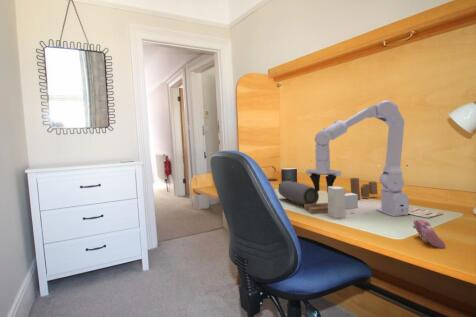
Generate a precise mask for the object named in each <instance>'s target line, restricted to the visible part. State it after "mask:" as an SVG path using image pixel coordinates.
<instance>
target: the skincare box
mask: <svg viewBox="0 0 476 317" xmlns="http://www.w3.org/2000/svg"><path fill="white" fill-rule="evenodd" d="M345 194H346V188H345V187H341V186H339V185H333V186H328V193H327V203H328V213H327V215H328V216H329V217H330V218H333V219H335V220H340V219H346V214H345V213H346V209H345Z"/></svg>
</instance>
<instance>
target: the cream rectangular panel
mask: <svg viewBox="0 0 476 317" xmlns="http://www.w3.org/2000/svg"><path fill="white" fill-rule="evenodd" d="M355 214H356V213H354V212H352V211H350V212H349V211H348V212H345V215H355Z"/></svg>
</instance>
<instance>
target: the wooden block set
mask: <svg viewBox="0 0 476 317" xmlns="http://www.w3.org/2000/svg"><path fill="white" fill-rule="evenodd" d="M349 179H350V180H349V181H350V182H349V183H350V193H354V194H357V195H358V200H360V199H361V197H362V198H369V197H370V195H378V182H377V181H368V183H364V184H362V185H360V178H359V177H351V178H349Z"/></svg>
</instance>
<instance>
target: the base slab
mask: <svg viewBox="0 0 476 317" xmlns="http://www.w3.org/2000/svg"><path fill="white" fill-rule="evenodd" d="M303 207H304V210H305V211H306V212H308V213H310V214H311V215H315V214H317V215H318V214H328V202H321V203H318V202H317V203H316V204H305V205H303Z"/></svg>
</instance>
